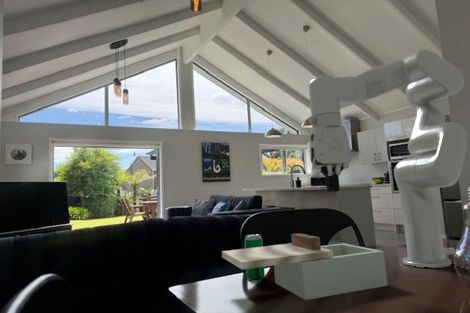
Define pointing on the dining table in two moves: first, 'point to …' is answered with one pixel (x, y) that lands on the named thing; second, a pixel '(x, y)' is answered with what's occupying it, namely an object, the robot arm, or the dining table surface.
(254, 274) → the soda can
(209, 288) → the dining table surface
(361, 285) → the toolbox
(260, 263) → the lid
